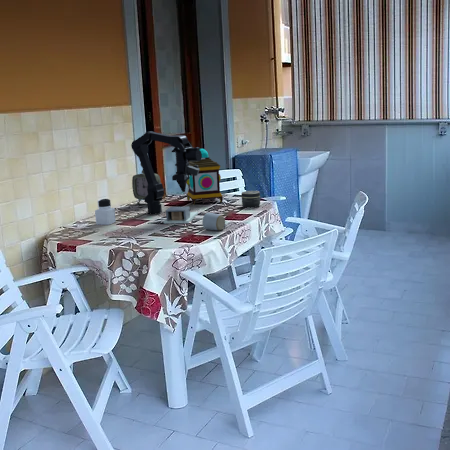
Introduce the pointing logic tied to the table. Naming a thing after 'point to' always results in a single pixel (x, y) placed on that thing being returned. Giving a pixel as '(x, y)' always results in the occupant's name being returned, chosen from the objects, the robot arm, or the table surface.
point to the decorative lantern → (204, 180)
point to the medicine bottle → (105, 213)
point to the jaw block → (177, 215)
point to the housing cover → (176, 209)
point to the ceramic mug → (213, 221)
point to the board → (192, 215)
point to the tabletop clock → (141, 185)
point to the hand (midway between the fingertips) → (183, 192)
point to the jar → (250, 199)
